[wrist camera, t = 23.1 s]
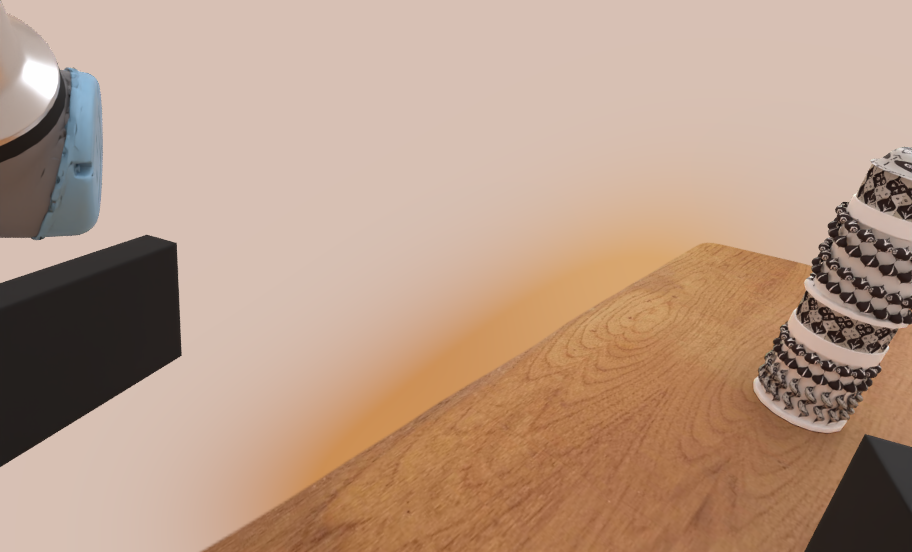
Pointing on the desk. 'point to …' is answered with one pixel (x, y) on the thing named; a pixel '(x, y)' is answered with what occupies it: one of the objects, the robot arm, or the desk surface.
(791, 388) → the white patterned cylinder
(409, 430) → the desk surface
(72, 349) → the robot arm
